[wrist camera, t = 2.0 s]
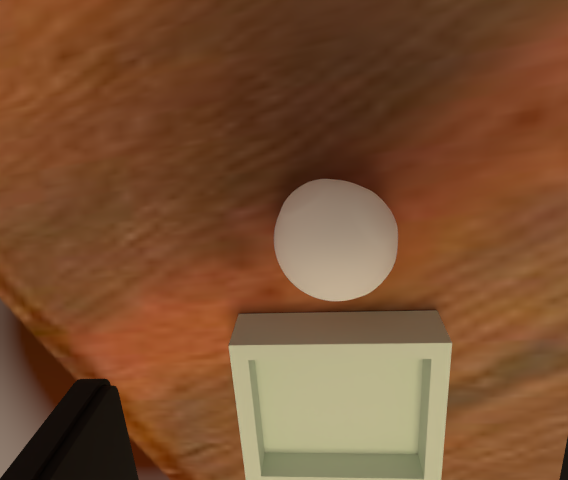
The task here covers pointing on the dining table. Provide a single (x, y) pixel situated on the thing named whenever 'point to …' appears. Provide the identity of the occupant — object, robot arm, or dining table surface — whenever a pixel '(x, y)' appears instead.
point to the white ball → (335, 239)
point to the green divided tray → (341, 394)
